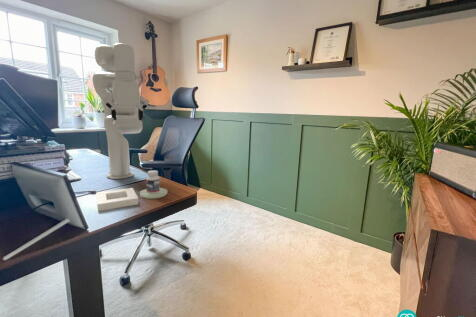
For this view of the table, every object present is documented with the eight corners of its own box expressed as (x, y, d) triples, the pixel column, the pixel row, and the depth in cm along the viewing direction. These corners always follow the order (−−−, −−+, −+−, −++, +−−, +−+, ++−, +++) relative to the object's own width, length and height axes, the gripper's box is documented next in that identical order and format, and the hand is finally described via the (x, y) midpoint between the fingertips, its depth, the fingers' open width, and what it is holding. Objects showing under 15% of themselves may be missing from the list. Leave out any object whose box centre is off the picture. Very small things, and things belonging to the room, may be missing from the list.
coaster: (137, 192, 99) (137, 189, 98) (163, 188, 104) (163, 186, 104) (142, 200, 90) (142, 198, 89) (170, 196, 95) (170, 193, 95)
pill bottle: (143, 192, 96) (143, 171, 94) (154, 188, 100) (153, 169, 99) (152, 194, 93) (151, 173, 92) (162, 191, 98) (162, 171, 96)
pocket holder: (96, 198, 90) (96, 192, 89) (132, 193, 97) (132, 187, 96) (98, 211, 79) (97, 204, 79) (138, 204, 86) (138, 198, 86)
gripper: (146, 80, 101) (147, 120, 104) (100, 75, 91) (103, 119, 95) (149, 78, 94) (151, 120, 98) (101, 73, 85) (104, 120, 89)
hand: (127, 120), depth 96 cm, fingers open, 9 cm apart
